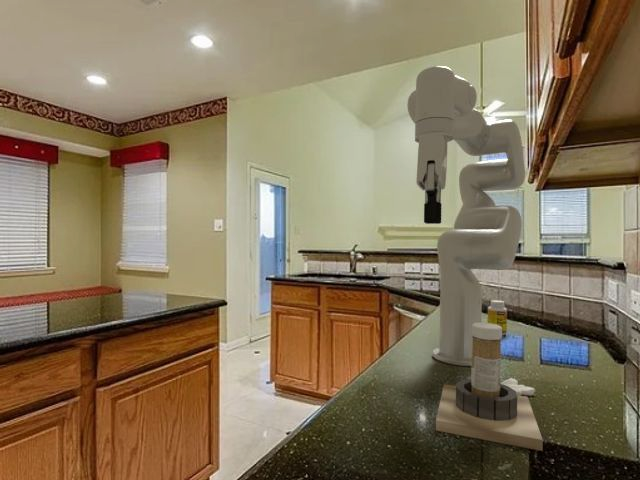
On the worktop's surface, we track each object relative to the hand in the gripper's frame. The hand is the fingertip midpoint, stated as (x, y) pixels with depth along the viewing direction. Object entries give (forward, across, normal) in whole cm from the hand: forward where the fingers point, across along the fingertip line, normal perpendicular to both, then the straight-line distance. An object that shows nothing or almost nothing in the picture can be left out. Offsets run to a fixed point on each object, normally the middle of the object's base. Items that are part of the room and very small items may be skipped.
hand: (432, 223), depth 78 cm
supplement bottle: (+32, -54, +15) cm, 65 cm away
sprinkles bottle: (+31, +12, +10) cm, 34 cm away
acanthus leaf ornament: (+33, -3, +15) cm, 36 cm away
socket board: (+32, +12, +10) cm, 36 cm away
